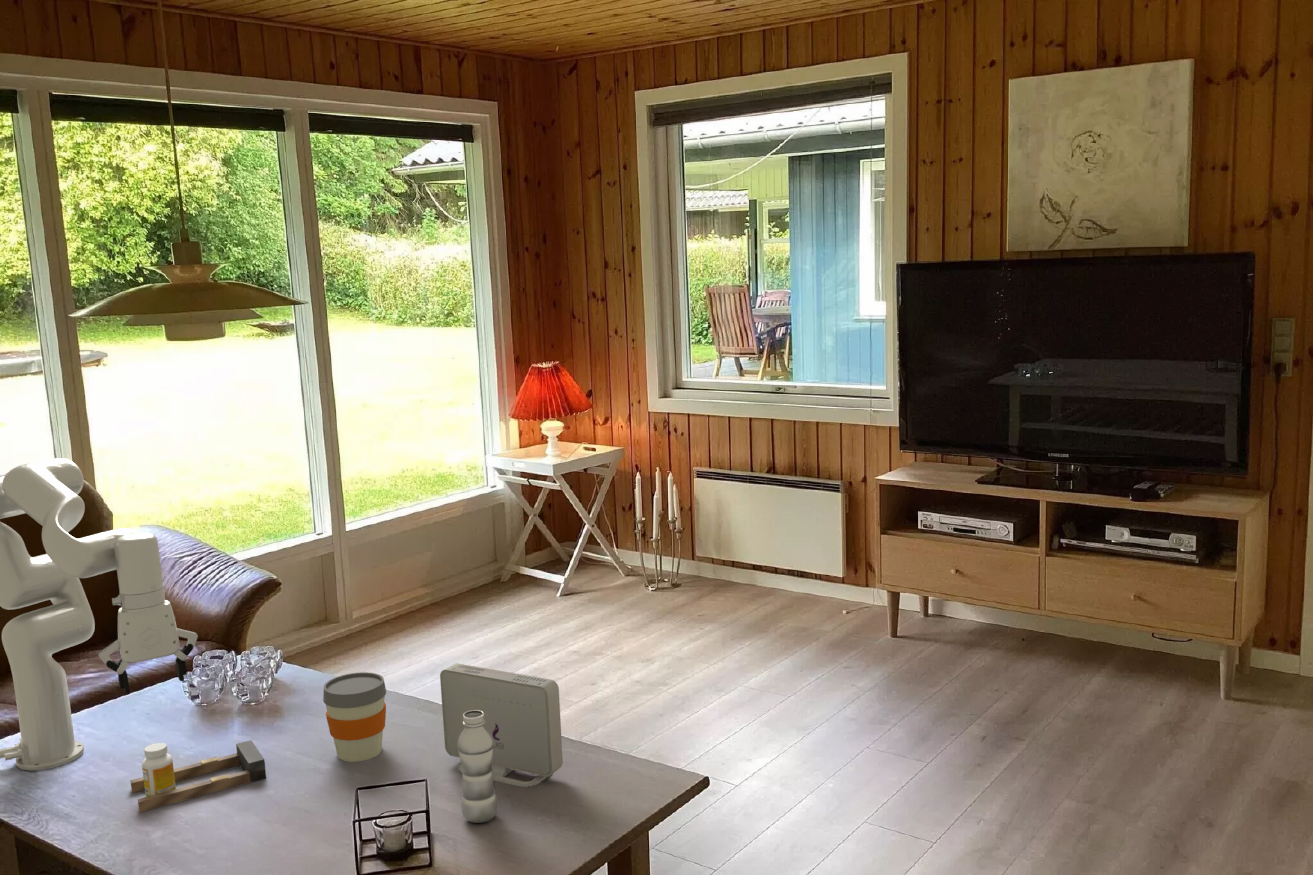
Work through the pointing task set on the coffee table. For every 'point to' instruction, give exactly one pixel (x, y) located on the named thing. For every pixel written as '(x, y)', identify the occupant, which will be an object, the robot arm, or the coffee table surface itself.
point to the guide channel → (244, 758)
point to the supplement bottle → (158, 770)
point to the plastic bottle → (477, 769)
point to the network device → (506, 718)
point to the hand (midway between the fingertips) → (154, 685)
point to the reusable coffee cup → (356, 714)
